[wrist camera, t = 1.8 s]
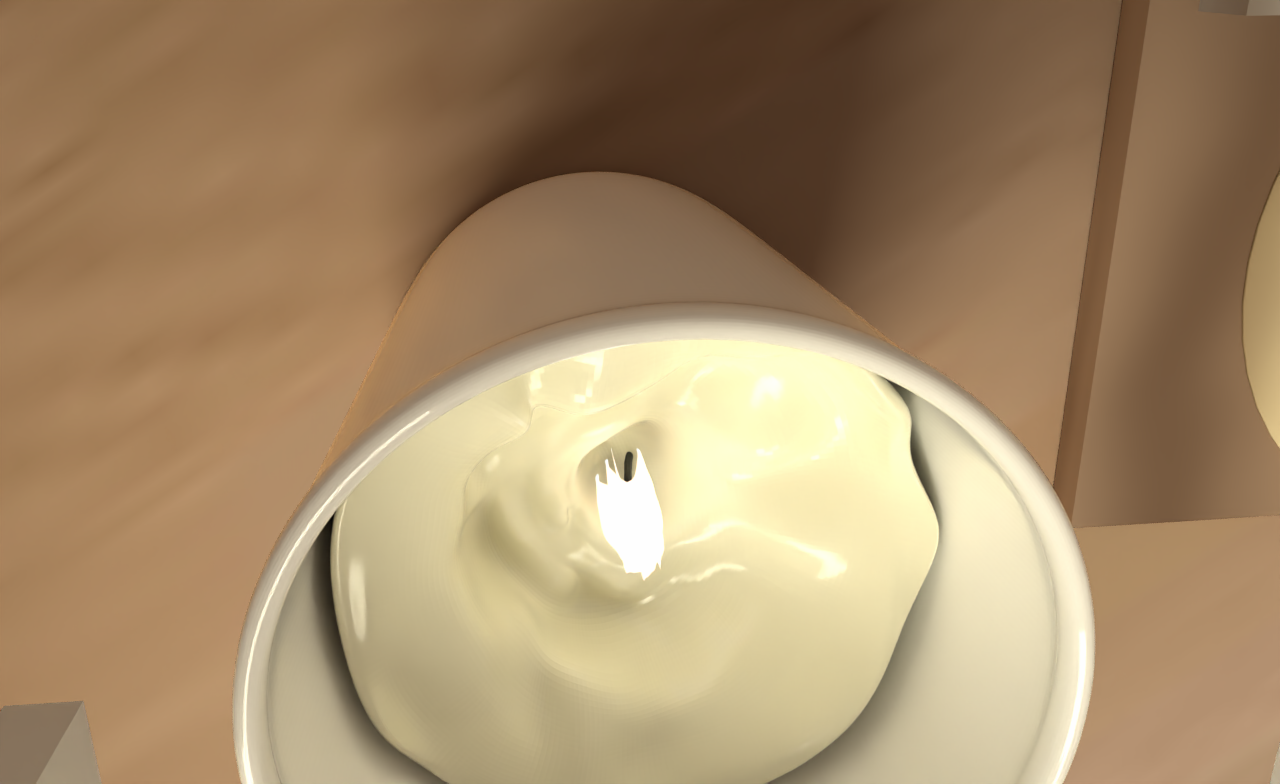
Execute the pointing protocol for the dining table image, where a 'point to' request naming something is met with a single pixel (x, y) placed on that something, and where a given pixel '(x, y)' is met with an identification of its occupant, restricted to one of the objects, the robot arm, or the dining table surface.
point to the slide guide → (1181, 276)
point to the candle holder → (659, 533)
